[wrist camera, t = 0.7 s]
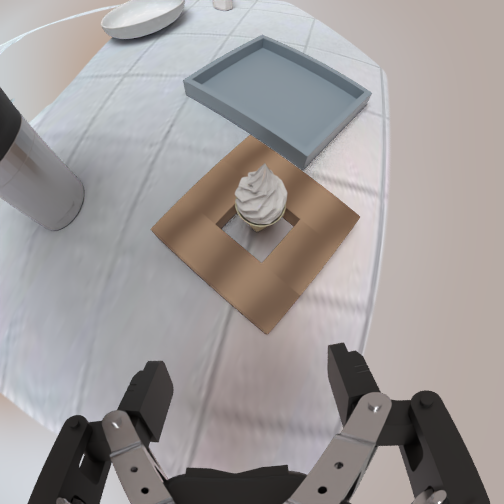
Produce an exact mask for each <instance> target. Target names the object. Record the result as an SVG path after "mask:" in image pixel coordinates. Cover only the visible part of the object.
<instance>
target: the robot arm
mask: <svg viewBox="0 0 504 504" xmlns="http://www.w3.org/2000/svg"><path fill="white" fill-rule="evenodd" d="M0 198H2V199H3V200H4V201H6V202H7V203H9V204H10V205H12V206H13V207H15V208H16V209H17V210H19V211H20V212H22V213H23V214H25V215H26V216H28V217H29V218H31V219H32V220H34V221H36V222H37V223H39V224H40V225H42V226H43V227H45V228H47V229H49V230H59V229H62V228H64V227H65V226H67V225H68V224H69V223H70V222H71V221H72V220H73V219H74V218H75V217H76V215H77V214H78V212H79V210H80V208H81V205H82V203H83V198H84V189H83V185H82V183H81V181H80V180H79V179H78V178H77V177H76V176H75V175H74V174H73V173H72V172H71V171H70V170H69V168H68V167H67V166H66V165H65V164H64V163H63V162H62V161H61V160H60V159H59V157H58V156H57V155H56V154H55V153H54V152H53V151H52V150H51V149H50V147H49V146H48V145H47V144H46V143H45V142H44V141H43V139H42V138H41V137H40V136H39V135H38V134H37V133H36V131H35V130H34V129H33V128H32V127H31V126H30V124H29V123H28V122H27V121H26V120H25V119H24V117H23V116H22V115H21V114H20V113H19V111H18V110H17V109H16V108H15V106H14V105H13V104H12V102H11V101H10V100H9V98H8V97H7V96H6V94H5V93H4V92H3V90H2V89H1V88H0ZM328 378H329V382H330V385H331V388H332V392H333V395H334V398H335V401H336V405H337V408H338V411H339V415H340V418H341V422H342V425H343V430H342V432H341V433H340V434H336V435H335V436H334V438H333V439H332V441H331V442H330V444H329V445H328V447H327V448H326V450H325V451H324V453H323V454H322V456H321V457H320V459H319V460H318V462H317V463H316V464H315V466H314V467H313V469H312V470H311V471H310V473H309V474H308V475H306V474H303V473H300V472H295V471H288V465H282V466H271V467H261V468H257V469H254V470H250V471H246V472H241V473H237V474H234V473H228V472H223V471H219V470H214V469H207V468H187V469H186V474H182V475H178V476H175V477H172V478H170V479H168V477H167V476H166V475H165V473H164V472H163V470H162V468H161V467H160V465H159V463H158V462H157V460H156V458H155V456H154V455H153V453H152V451H151V449H150V448H149V443H150V442H159V439H160V435H161V432H162V429H163V425H164V422H165V419H166V415H167V412H168V409H169V406H170V402H171V399H172V396H173V383H172V381H171V378H170V376H169V373H168V371H167V368H166V366H165V363H164V362H163V361H148V362H147V364H146V366H145V368H144V370H143V371H139V372H138V373H137V374H136V375H135V376H134V377H133V378H132V380H131V382H130V385H129V386H128V388H127V391H126V392H125V395H124V397H123V399H122V401H121V403H120V405H119V407H118V409H117V410H116V411H112V412H109V413H108V414H107V415H105V416H104V418H103V420H102V421H97V422H88V421H87V420H86V418H85V417H83V416H81V415H75V416H72V417H70V418H69V419H67V420H66V422H65V423H64V425H63V427H62V429H61V431H60V433H59V435H58V437H57V439H56V441H55V443H54V445H53V447H52V449H51V451H50V453H49V456H48V458H47V460H46V462H45V464H44V466H43V468H42V471H41V473H40V475H39V477H38V480H37V482H36V485H35V487H34V489H33V492H32V494H31V496H30V499H29V502H28V504H100V500H101V496H102V493H103V489H104V486H105V483H106V479H107V475H108V472H109V469H110V466H111V463H113V466H114V468H115V471H116V473H117V475H118V478H119V480H120V482H121V484H122V486H123V489H124V491H125V493H126V495H127V497H128V499H129V501H130V503H131V504H351V503H349V501H350V499H351V498H352V496H353V494H354V493H355V491H356V489H357V488H358V486H359V484H360V481H361V480H362V477H363V476H364V474H365V472H366V470H367V468H368V466H369V464H370V462H371V460H372V458H373V457H374V455H375V453H376V450H377V448H378V446H392V445H398V446H399V448H400V452H401V455H402V458H403V461H404V464H405V467H406V470H407V474H408V477H409V480H410V484H411V487H412V490H413V494H414V497H415V500H414V501H413V502H412V503H411V504H490V501H489V498H488V496H487V493H486V490H485V488H484V486H483V483H482V481H481V479H480V476H479V474H478V471H477V469H476V467H475V465H474V463H473V460H472V458H471V456H470V454H469V452H468V450H467V448H466V446H465V444H464V442H463V440H462V438H461V435H460V433H459V432H458V430H457V428H456V426H455V424H454V422H453V420H452V418H451V416H450V414H449V412H448V411H447V409H446V407H445V405H444V403H443V401H442V400H441V398H440V397H439V395H438V394H436V393H435V392H432V391H420V392H418V393H416V394H415V395H414V396H413V397H412V399H411V400H403V401H396V400H391V399H390V398H389V397H388V396H387V395H385V394H383V393H381V392H380V390H379V388H378V386H377V384H376V382H375V380H374V378H373V376H372V374H371V372H370V370H369V368H368V366H367V364H366V362H365V360H364V358H363V356H362V355H361V354H359V353H358V352H357V351H351V352H348V350H347V348H346V346H345V344H344V343H338V344H333V345H328ZM83 454H84V455H85V456H84V458H83V461H82V463H81V466H80V468H79V464H80V461H81V458H82V456H83Z"/></svg>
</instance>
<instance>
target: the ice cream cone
mask: <svg viewBox="0 0 504 504" xmlns="http://www.w3.org/2000/svg"><path fill="white" fill-rule="evenodd" d="M235 196H236V199H235V207H236V211H237V213H238V215H239V216H240V217H241V218H242V219H243V220H244V221H245V222H247V223H248V224H249V225H250V226H251V227H252V228H253V229H254V230H255V231H256V232H259V231H261V230H262V229H264V228H265V227H267V226H269V225H272V224H274V223H276V222H277V221H278V220H279V219H280V218H281V217H282V216H283V214H284V212H285V209H286V200H287V191H286V189H285V186H284V184H283V182H282V180H281V179H279V178H278V176H276V175H274V174H273V172H272V170H270V169H269V168H268V167H267V166H266V164H265V163H264V164H263V165H262V166H261V167H260V168H259V169H258V170H257V171H255V172H249V173H248V177H243V178H241V181H240V183H239V187H238V188H237V189H236V191H235Z"/></svg>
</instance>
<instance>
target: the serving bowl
mask: <svg viewBox="0 0 504 504" xmlns="http://www.w3.org/2000/svg"><path fill="white" fill-rule="evenodd" d="M184 4H185V0H131V1H129V2H126V3H124V4H122V5H120V6H118V7H117V8H115V9H113V10H112V11H110V12H109V13H108V14H107V15H106V16H105V17H104V18H103V19H102V21H101V26H102V28H103V30H104V31H105V32H106V33H107V34H108V35H110V36H112V37H114V38H118V39H131V38H137V37H142V36H145V35H148V34H151V33H154V32H156V31H159V30H161V29H163V28H165V27H167V26H168V25H170V24H171V23H173V22H174V21H175V20H176V19H177V18H178V17H179V16H180V14H181V13H182V11H183V8H184Z"/></svg>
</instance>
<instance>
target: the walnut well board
mask: <svg viewBox="0 0 504 504" xmlns="http://www.w3.org/2000/svg"><path fill="white" fill-rule="evenodd" d="M264 163H265V164H266V166H267V167H268V168H269V169H270V170H272V172H273V174H274V175H276V176H278V178H279V179H281V180H282V182H283V184H284V186H285V189H286V191H287V200H286V209H285V212H284V214H283V216H282V217H283V218H284V219H285V220H287V221H288V222H289V223H290V224H292V225H293V226H294V227H293V228H292V229H291V231H290V232H289V233H288V234H287V235H286V236H285V238H284V239H283V240H282V241H281V242H280V243H279V244H278V246H277V247H276V248H275V249H274V250H273V251H272V252H271V254H270V255H269V256H268V257H267V258H266V259H265V260H264V262H263V263H261V262H260V261H258V260H257V259H256V258H255V257H254V256H252V255H251V254H250V253H249V252H248V251H247V250H245V249H244V248H243V247H242V246H241V245H239V244H238V243H237V242H236V241H235V240H233V239H232V238H231V237H230V236H229V235H227V234H226V233H225V232H224V231H223V230H222V227H223V226H224V225H225V224H226V223H227V222H228V221H229V220H230V219H231V218H232V217H233V216H234V215H235V214H236V213H237V211H236V207H235V199H236V196H235V191H236V189H237V188H238V187H239V183H240V181H241V178H243V177H248V173H249V172H255V171H257V170H258V169H259V168H260V167H261V166H262V165H263V164H264ZM359 218H360V216H359V215H358V214H356V213H355V212H354V211H353V210H352V209H350V208H349V207H348V206H347V205H346V204H344V203H343V202H342V201H341V200H339V199H338V198H337V197H336V196H334V195H333V194H332V193H331V192H329V191H328V190H327V189H325V188H324V187H323V186H322V185H320V184H319V183H318V182H316V181H315V180H314V179H312V178H311V177H310V176H308V175H307V174H306V173H304V172H303V171H302V170H300V169H299V168H298V167H296V166H295V165H293V164H292V163H291V162H289V161H288V160H286V159H285V158H284V157H282V156H281V155H279V154H278V153H276V152H275V151H274V150H272V149H271V148H269V147H268V146H266V145H265V144H263V143H262V142H260V141H259V140H257V139H256V138H254V137H253V136H251V135H249V136H248V137H247V138H246V139H245V140H244V141H242V142H241V143H240V144H239V145H238V146H237V147H236V148H234V149H233V150H232V151H231V152H230V153H229V154H228V155H226V156H225V157H224V158H223V159H222V160H221V161H220V162H219V163H218V164H216V165H215V166H214V167H213V168H212V169H211V170H210V171H209V172H208V173H207V174H206V175H205V176H204V177H202V178H201V179H200V180H199V181H198V182H197V183H196V184H195V185H194V186H193V187H192V188H191V189H190V190H189V191H188V192H187V193H186V194H185V195H184V196H183V197H182V198H181V199H180V200H179V201H178V202H177V203H176V204H175V205H174V206H173V207H172V208H171V209H170V210H169V211H168V212H167V213H166V214H165V215H164V216H163V217H162V218H161V219H160V220H159V221H158V222H157V223H156V224H155V225H154V226H153V227H152V228H151V230H152V232H153V233H154V234H155V235H156V236H157V237H158V238H159V239H160V240H161V241H162V242H163V243H164V244H165V245H166V246H167V247H168V248H169V249H170V250H171V251H172V252H174V253H175V254H176V255H177V256H178V257H179V258H180V259H181V260H182V261H183V262H184V263H185V264H186V265H188V266H189V267H190V268H191V269H192V270H193V271H194V272H195V273H196V274H197V275H198V276H200V277H201V278H202V279H203V280H204V281H205V282H206V283H207V284H208V285H209V286H211V287H212V288H213V289H214V290H215V291H216V292H217V293H218V294H220V295H221V296H222V297H223V298H224V299H225V300H226V301H228V302H229V303H230V304H231V305H232V306H233V307H234V308H236V309H237V310H238V311H239V312H240V313H241V314H243V315H244V316H245V317H246V318H247V319H248V320H250V321H251V322H252V323H253V324H254V325H255V326H257V327H258V328H259V329H260V330H261V331H263V332H264V333H265V334H269V332H270V331H271V330H272V329H273V328H274V327H275V325H276V324H277V323H278V322H279V321H280V319H281V318H282V317H283V316H284V315H285V314H286V312H287V311H288V310H289V309H290V308H291V306H292V305H293V304H294V303H295V301H296V300H297V299H298V298H299V297H300V295H301V294H302V293H303V292H304V290H305V289H306V288H307V287H308V285H309V284H310V283H311V282H312V280H313V279H314V278H315V277H316V275H317V274H318V273H319V272H320V270H321V269H322V268H323V266H324V265H325V264H326V263H327V261H328V260H329V259H330V257H331V256H332V255H333V253H334V252H335V251H336V250H337V248H338V247H339V246H340V244H341V243H342V242H343V240H344V239H345V238H346V236H347V235H348V233H349V232H350V231H351V229H352V228H353V227H354V225H355V224H356V223H357V221H358V220H359Z"/></svg>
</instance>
